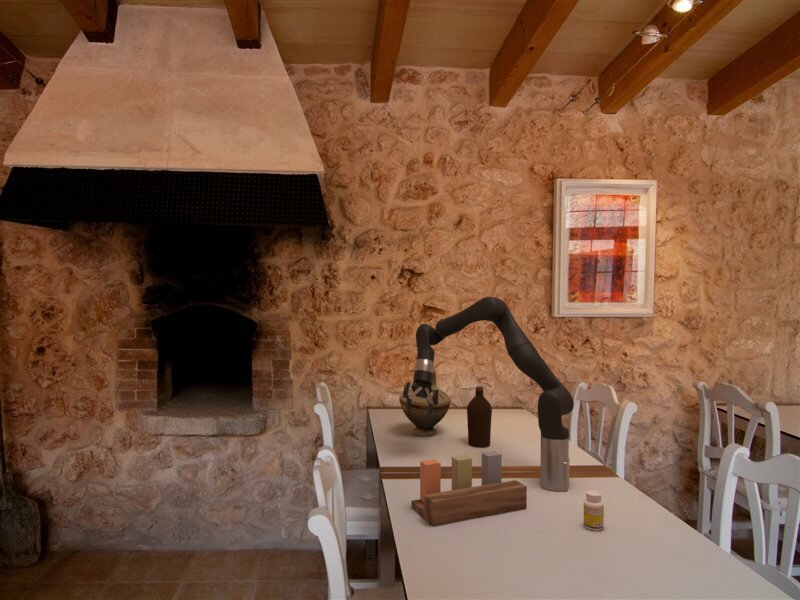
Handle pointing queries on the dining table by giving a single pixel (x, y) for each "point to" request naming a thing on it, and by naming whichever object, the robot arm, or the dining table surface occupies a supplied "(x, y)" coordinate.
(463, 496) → the console
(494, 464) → the slate key
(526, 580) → the dining table surface
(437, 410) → the amphora
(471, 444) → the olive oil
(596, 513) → the supplement bottle
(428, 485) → the terracotta key
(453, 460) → the khaki rectangular block
